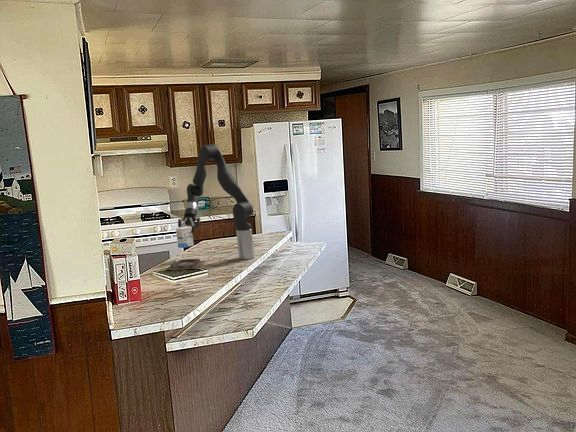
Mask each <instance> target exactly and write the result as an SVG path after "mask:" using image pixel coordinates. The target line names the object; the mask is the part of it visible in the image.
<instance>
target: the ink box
mask: <svg viewBox="0 0 576 432" xmlns="http://www.w3.org/2000/svg"><path fill="white" fill-rule="evenodd" d="M192 227H193V226H191V225H187V226H185V227H180V228H179V227H176V229H175V232H176V240H177V241H176V242H177V247H178V248H180V249H185V248H189V247H192V246H193V247H194V245H195V244H194V238H193V233H192V232H191V230H192Z"/></svg>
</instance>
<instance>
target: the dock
mask: <svg viewBox="0 0 576 432" xmlns="http://www.w3.org/2000/svg"><path fill="white" fill-rule="evenodd" d="M205 263H207V261H206V260H201V259H200V258H181V259H179V260H176V259H173V260H172V261H170V262H169V264H170V265H169V266H167V268H165V270H180V269H197V270H198V269H199V268H201V267H202V266H203V265H204V264H205Z"/></svg>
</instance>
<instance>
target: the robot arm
mask: <svg viewBox="0 0 576 432" xmlns="http://www.w3.org/2000/svg"><path fill="white" fill-rule="evenodd" d="M212 160H213V161H214V163H215V164H216V167H217V173H216V174H217V175H216V177H217V182H218V184H219V185H220V186H221V188H222V190H223V191H224V192H225V193H227V194H228V195H230V196H231V197H232V198H233V199H234V200H235V202H236V203H235V204H234V205H233V207H232V216H233V224H234V227H235V229H236V242H237V255H238V260H251V259H254V258H255V256H256V253H255V242H254V239H253V237H254V236H253V226H252V223H249V222H247V218H250V217H251V216H252V215H254V207H253V205H252V203H251V202H250V200H249V199H248V198H247V197H246V195H245V193H244V191H242V189H241V187H240V186H239V184H238V182H237V181H236V179H235V177H234V175H233V174H232V172H231V169H229V166H228V164H227V163H226V161H225V159H224V157H223V155H222V152H221V149H219V146H217V145H216V144H215V143H211V144H206V145H205V144H204V145H202V146H200V149H199V151H198V157H197V163H196V169H195V172H194V176H193V179H192V183H189V184H188V185H187V186H186V194H187V201H186V205H185V208H184V212H183V218H178V219H177V220H178V221H177V228H180V227H185V226H191V227H192V230H191V232H192V234H194V233H195V232H196V229H197V228H199V227H200V225H201V218H200V217H197V215H198V209H199V200H200V199H199V197H202V196H203V194H204V183H205V181H206V177H207V169H206V166H205V165H206V163H207V161H212Z"/></svg>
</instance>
